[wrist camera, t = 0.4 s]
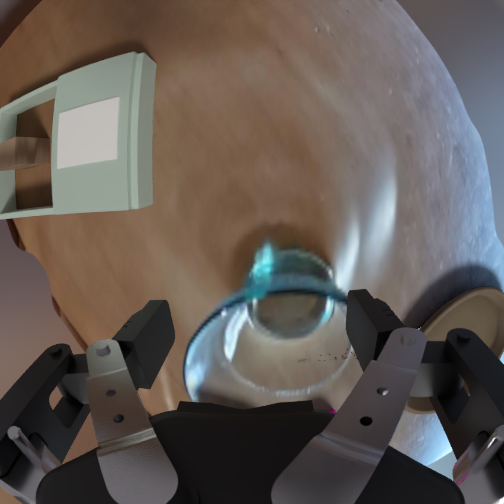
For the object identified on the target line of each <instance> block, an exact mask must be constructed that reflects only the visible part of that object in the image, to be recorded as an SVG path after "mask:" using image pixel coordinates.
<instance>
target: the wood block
mask: <svg viewBox="0 0 504 504" xmlns="http://www.w3.org/2000/svg"><path fill="white" fill-rule="evenodd" d="M49 151H50V139H49V138H33V137H14V138H11V139H9V140H7V141H5V142H3V143H0V171H6V170H16V169H28V168H31V167H35V166H39V165H43V164H47V163H49Z"/></svg>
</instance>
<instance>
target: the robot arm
mask: <svg viewBox="0 0 504 504" xmlns="http://www.w3.org/2000/svg"><path fill="white" fill-rule="evenodd" d="M346 331H347V335H348V338H349V340H350V342H351V345H352V347H353V349H354V351H355V354H356V356H357V358H358V361H359V363H360V365H361V368H362V370H363V372H364V373H363V374H362V376H361V378H360V379H359V381H358V382H357V384H356V385H355V387H354V388H353V390H352V392H351V393H350V395H349V396H348V397H347V399H346V400H345V402H344V403H343V405H342V406H341V408H340V409H339V410H338V412H337V413H336V414H334V413H331V412H327V411H322V410H315V409H313V404H312V400H308V401H297V402H282V403H275V404H271V405H266V406H262V407H257V408H252V409H246V410H241V409H235V408H231V407H226V406H221V405H217V404H212V403H199V402H185V401H180V402H179V405H178V408H177V410H172V411H167V412H163V413H159V414H157V415H154V416H152V417H150V418H149V417H148V414H147V412H146V410H145V408H144V406H143V403H142V401H141V399H140V397H139V394H138V392H137V391H138V389H139V388H144V389H150V388H151V386H152V384H153V382H154V380H155V378H156V377H157V375H158V373H159V371H160V369H161V367H162V365H163V363H164V361H165V359H166V357H167V355H168V353H169V351H170V349H171V347H172V345H173V343H174V340H175V330H174V326H173V321H172V317H171V313H170V308H169V304H168V302H167V301H166V300H150V301H149V302H148V303H147V304H146V305H145V307H144V308H143V309H142V310H140V311H138V312H137V313H135V314H134V315H132V316H131V317H130V318H129V320H128V321H127V322H126V323H125V324H124V325H123V327H122V328H121V329H120V330H119V331H118V332H117V333H116V335H115V336H114V337H113V338H112V339H106V340H100V341H98V342H95V343H93V344H92V345H91V346H89V348H88V349H87V351H86V354H77V355H73V353H72V351H71V348H70V346H69V345H67V344H56V345H53V346H51V347H49V348H48V349H46V350H45V351H44V352H43V353H42V354H41V355H40V356H39V357H38V359H37V360H36V361H35V362H34V363H33V364H32V365H31V366H30V367H29V368H28V369H27V370H26V371H25V373H24V374H23V375H22V376H21V377H20V378H19V379H18V380H17V381H16V383H15V384H14V385H13V386H12V387H11V388H10V389H9V391H8V392H7V393H6V394H5V395H4V396H3V398H2V399H1V400H0V486H1V487H2V488H3V489H4V490H5V491H6V492H8V493H9V494H10V495H12V496H14V497H15V498H16V499H17V500H18V501H20V502H21V503H22V504H504V364H503V363H502V362H501V361H500V360H499V359H498V357H497V356H496V355H495V354H494V353H493V352H492V351H491V349H490V348H489V347H488V346H487V345H486V344H485V343H484V342H483V341H482V340H481V339H480V337H479V336H478V335H477V334H476V333H474V332H473V331H471V330H468V329H465V328H455V329H452V330H450V331H449V332H448V333H447V336H446V340H445V341H427V337H426V335H425V334H424V333H423V332H421V331H420V330H418V329H415V328H409V327H405V326H404V324H403V323H402V322H401V321H400V319H399V318H398V317H397V316H396V315H395V313H394V312H393V311H392V310H391V308H390V307H389V306H388V305H387V304H386V303H385V302H383V301H381V300H380V299H378V298H376V299H374V298H373V297H372V296H371V295H370V293H369V292H368V291H367V290H366V289H359V290H350V291H349V292H348V301H347V316H346ZM464 381H465V383H466V384H467V386H468V388H469V395H468V394H467V392H466V391H465V389H464V387H463V383H464ZM56 386H57V387H58V388H59V390H60V392H61V394H62V395H63V397H62V398H61V400H60V401H59V403H58V404H57V405H56V407H55V408H54V410H53V409H52V408H51V406H50V403H49V397H50V394H51V393H52V391H53V390H54V389H55V387H56ZM409 397H429V399H430V401H431V403H432V406H433V408H434V410H435V412H436V414H437V416H438V418H439V420H440V422H441V424H442V427H443V429H444V431H445V433H446V436H447V438H448V440H449V442H450V445H451V447H452V449H453V452H454V454H455V457H456V459H457V462H456V463H455V465H454V468H453V481H452V480H451V479H449V478H447V477H445V476H444V475H442V474H440V473H438V472H436V471H434V470H432V469H430V468H428V467H426V466H424V465H423V464H421V463H419V462H417V461H415V460H413V459H412V458H410V457H408V456H406V455H405V454H403V453H401V452H399V451H398V450H396V449H394V448H393V447H391V446H389V444H390V442H391V439H392V437H393V435H394V433H395V431H396V429H397V426H398V424H399V422H400V419H401V417H402V415H403V412H404V410H405V407H406V405H407V402H408V400H409ZM90 411H91V416H92V421H93V425H94V430H95V434H96V438H97V442H98V447H97V448H95V449H93V450H91V451H89V452H87V453H85V454H83V455H81V456H79V457H77V458H75V459H73V460H71V461H69V462H67V463H65V464H63V465H61V464H62V463H63V461H64V459H65V457H66V455H67V453H68V451H69V449H70V447H71V445H72V443H73V441H74V440H75V438H76V436H77V434H78V432H79V430H80V429H81V427H82V425H83V423H84V421H85V420H86V418H87V416H88V414H89V413H90Z"/></svg>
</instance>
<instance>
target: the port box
mask: <svg viewBox="0 0 504 504" xmlns="http://www.w3.org/2000/svg"><path fill="white" fill-rule="evenodd" d="M156 66H157V64H156V63H155V62H154V61H153V60H152V59H151V58H150V57H148V56H147V55H146V54H145V53H144V52H143V53H139V54H137V53H136V52H130V53H126V54H122V55H119V56H115V57H112V58H109V59H105V60H102V61H99V62H96V63H93V64H90V65H87V66H84V67H82V68H79V69H76V70H74V71H71V72H69V73H66V74H64V75H61V76H59V77H58V80H56V81H54V82H52V83H49V84H47V85H45V86H43V87H41V88H38V89H36V90H34V91H32V92H30V93H28V94H26V95H24V96H22V97H21V98H19V99H17V100H15V101H13V102H11V103H10V104H8V105H6V106H4V107H3V108H1V109H0V143H3V142H5V141H7V140H9V139H11V138H14V137H16V128H17V117H18V114H20V113H22V112H24V111H26V110H28V109H30V108H32V107H35V106H37V105H39V104H42V103H44V102H46V101H49V100H51V99H54V98H55V106H54V116H53V129H52V155H51V171H52V198H53V205H52V206H43V207H35V208H27V209H20V210H17V207H16V192H15V170H6V171H0V219H8V218H18V217H27V216H37V215H48V214H54V215H57V214H70V213H85V212H101V211H120V210H131V209H140V208H143V207H146V206H150V205H153V181H152V135H153V107H154V90H155V77H156Z"/></svg>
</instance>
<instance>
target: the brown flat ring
mask: <svg viewBox="0 0 504 504" xmlns="http://www.w3.org/2000/svg"><path fill="white" fill-rule="evenodd" d="M455 328H465V329H468V330H471V331H473V332H474V333H476V334H477V335H478V336H479V337H480V339H481V340H482V341H483V342H484V343H485V344H486V345H487V346H488V347H489V348H490V349H491V351H492V352H493V353H494V354H495V355H496V356H497V357H498V359H499V360H500V358H501V356H502V354H503V352H504V293H503V292H502V291H501V290H499V289H497V288H495V287H489V286H484V287H478V288H474V289H471V290H468V291H466V292H464V293H462V294H460V295H458V296H457V297H455V298H453V299H452V300H450V301H449V302H447V303H446V304H444V305H443V306H442V307H440V308H439V309H438V310H437V311H436V312H435V313H434V314H433V315H432V316H431V317H430V318H429V319H428V320H427V321H426V322H425V323H424V325H423V326H422V327H421V328H420V331H421V332H423V333H424V334H425V335H426V337H427V341H445V340H446V336H447V333H448V332H449V331H450V330H452V329H455ZM463 387H464V389H465V391H466V392H467V394H468V395H469V388H468V386H467V384H466V383H465V381H464V383H463ZM405 410H406V411H407V412H410V413H413V414H431V413H435V410H434V408H433V406H432V403H431V401H430V399H429V397H409V400H408V402H407V405H406V407H405Z"/></svg>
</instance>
